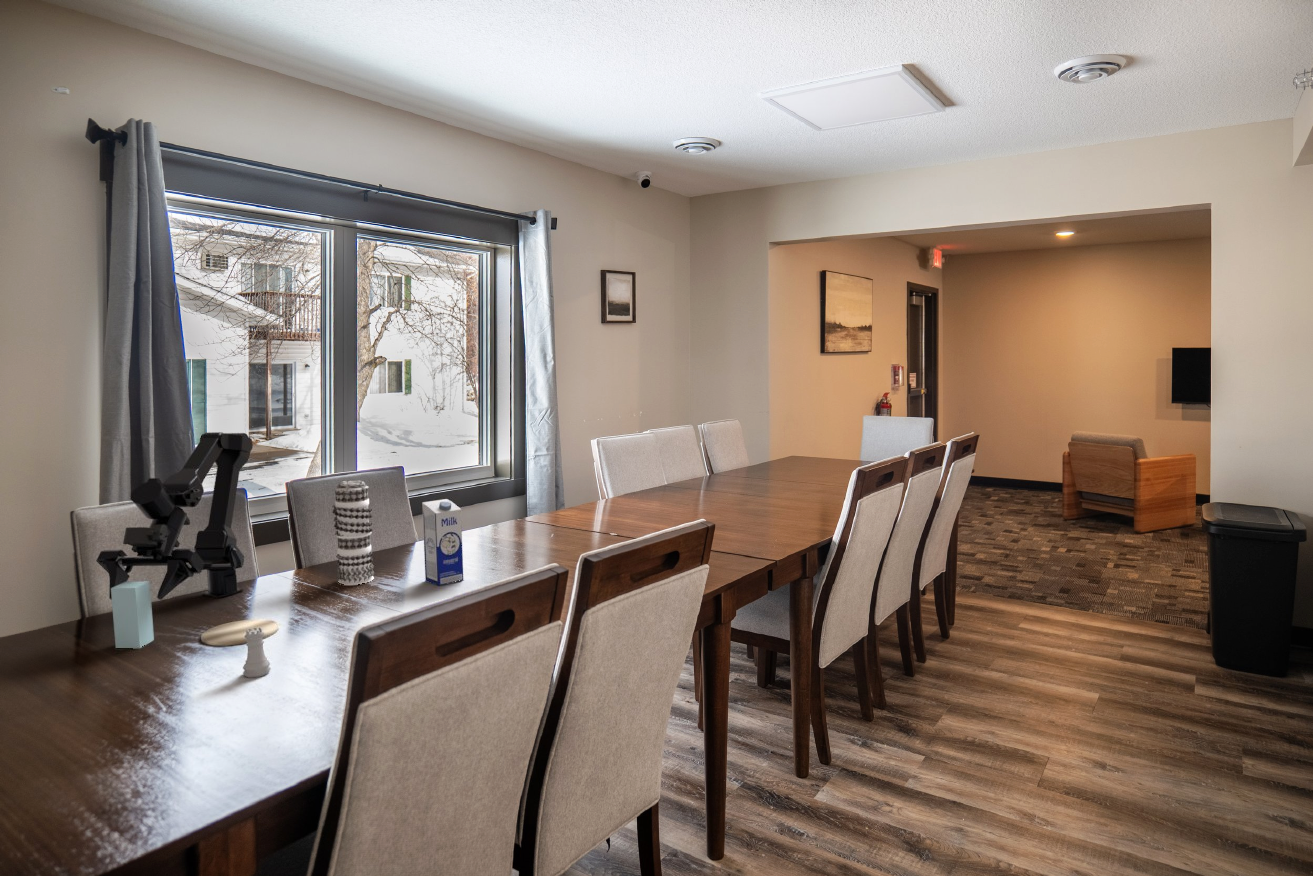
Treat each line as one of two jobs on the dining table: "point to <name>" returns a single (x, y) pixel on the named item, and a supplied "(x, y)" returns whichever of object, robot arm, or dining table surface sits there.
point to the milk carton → (442, 542)
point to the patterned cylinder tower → (353, 533)
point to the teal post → (132, 614)
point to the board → (237, 632)
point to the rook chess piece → (255, 655)
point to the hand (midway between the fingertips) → (135, 599)
